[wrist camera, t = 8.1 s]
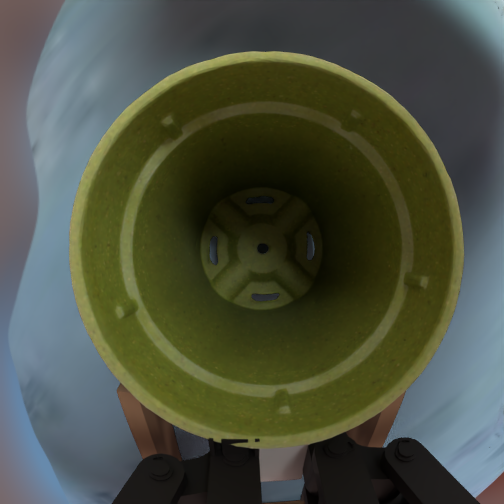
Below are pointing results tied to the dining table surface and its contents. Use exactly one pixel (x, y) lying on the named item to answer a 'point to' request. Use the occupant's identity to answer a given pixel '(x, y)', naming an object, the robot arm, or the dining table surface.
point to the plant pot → (279, 249)
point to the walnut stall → (164, 441)
